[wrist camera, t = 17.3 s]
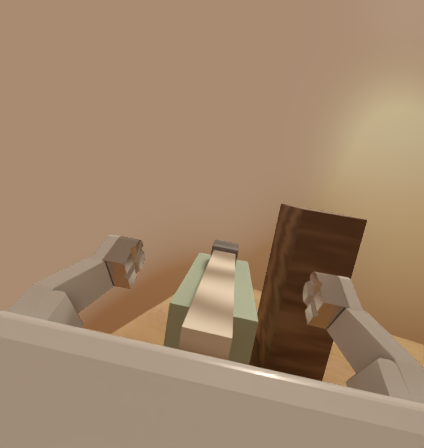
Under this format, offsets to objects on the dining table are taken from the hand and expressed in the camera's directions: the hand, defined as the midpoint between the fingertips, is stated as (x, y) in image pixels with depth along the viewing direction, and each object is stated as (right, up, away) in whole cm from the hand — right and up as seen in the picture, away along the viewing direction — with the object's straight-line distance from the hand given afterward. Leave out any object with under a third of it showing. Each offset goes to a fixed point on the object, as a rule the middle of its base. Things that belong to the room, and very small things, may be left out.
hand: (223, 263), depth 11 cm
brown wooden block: (+12, -21, +29) cm, 38 cm away
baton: (0, -5, +13) cm, 14 cm away
